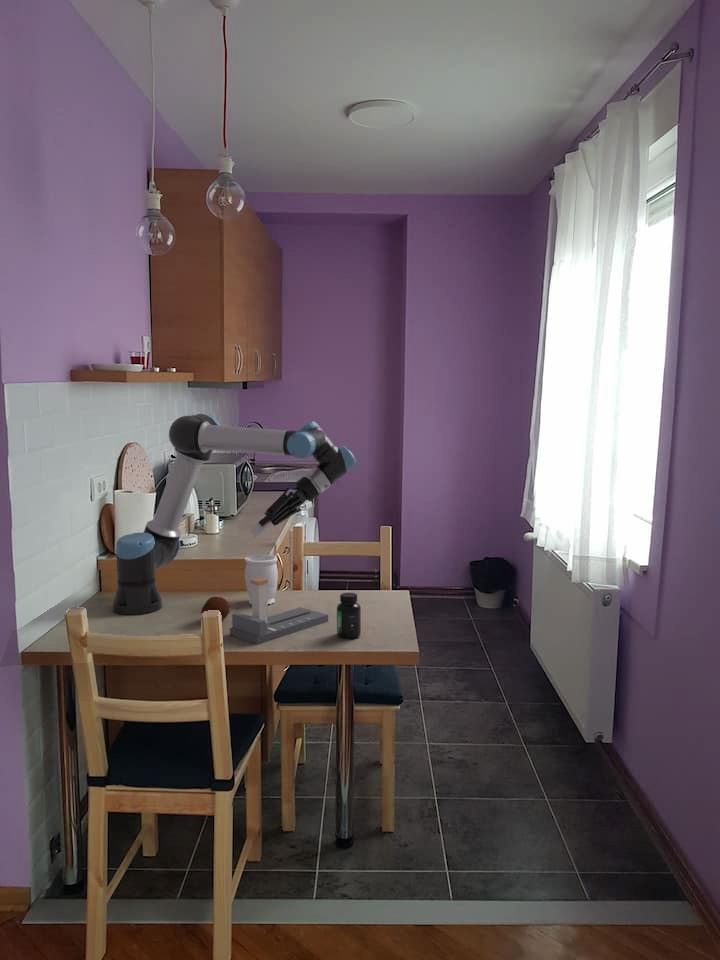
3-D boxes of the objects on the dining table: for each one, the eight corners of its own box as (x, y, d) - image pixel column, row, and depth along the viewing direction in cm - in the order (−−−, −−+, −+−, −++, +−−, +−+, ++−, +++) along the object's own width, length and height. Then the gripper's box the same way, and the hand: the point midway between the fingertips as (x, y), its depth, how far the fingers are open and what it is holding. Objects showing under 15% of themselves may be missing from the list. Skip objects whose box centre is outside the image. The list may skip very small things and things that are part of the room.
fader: (259, 622, 227) (258, 577, 225) (271, 626, 224) (270, 579, 222) (248, 625, 224) (248, 579, 222) (260, 629, 221) (259, 582, 219)
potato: (235, 617, 240) (235, 592, 239) (220, 628, 229) (219, 602, 228) (212, 615, 242) (212, 590, 241) (196, 626, 231) (195, 600, 230)
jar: (281, 598, 261) (280, 554, 259) (273, 607, 250) (273, 561, 248) (250, 597, 262) (249, 553, 260) (241, 606, 252) (240, 560, 250)
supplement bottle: (337, 639, 219) (337, 598, 218) (336, 632, 226) (336, 591, 224) (361, 639, 220) (361, 597, 218) (359, 631, 226) (359, 591, 225)
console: (300, 613, 244) (300, 594, 243) (328, 621, 236) (328, 601, 235) (229, 634, 223) (229, 614, 223) (257, 644, 215) (257, 623, 215)
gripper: (316, 483, 234) (254, 533, 229) (323, 501, 245) (264, 549, 241) (300, 467, 237) (239, 516, 232) (309, 486, 249) (250, 533, 244)
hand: (252, 533), depth 236 cm, fingers closed
